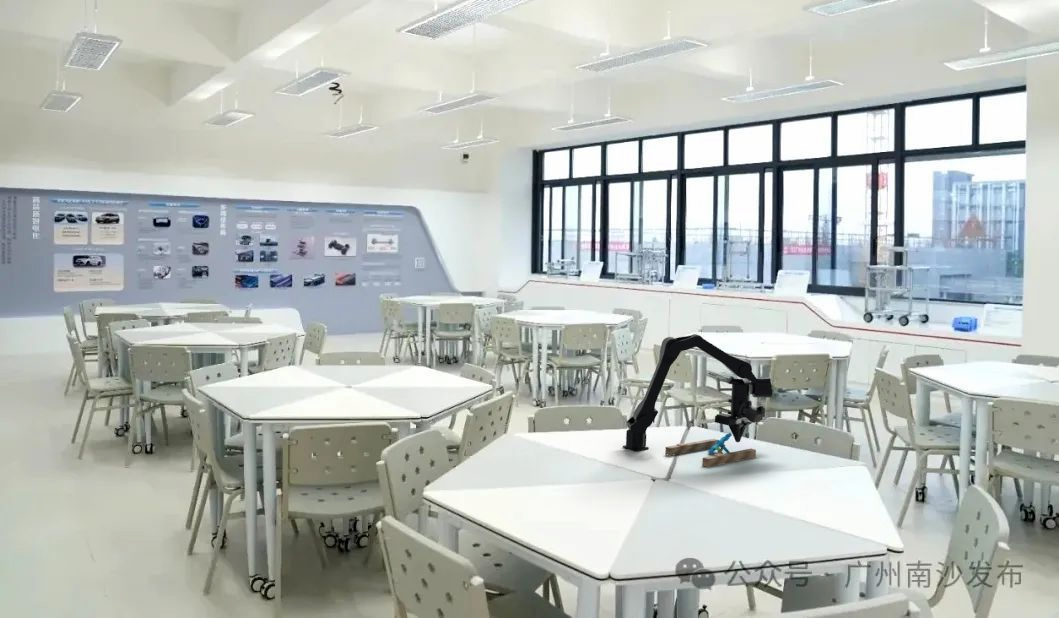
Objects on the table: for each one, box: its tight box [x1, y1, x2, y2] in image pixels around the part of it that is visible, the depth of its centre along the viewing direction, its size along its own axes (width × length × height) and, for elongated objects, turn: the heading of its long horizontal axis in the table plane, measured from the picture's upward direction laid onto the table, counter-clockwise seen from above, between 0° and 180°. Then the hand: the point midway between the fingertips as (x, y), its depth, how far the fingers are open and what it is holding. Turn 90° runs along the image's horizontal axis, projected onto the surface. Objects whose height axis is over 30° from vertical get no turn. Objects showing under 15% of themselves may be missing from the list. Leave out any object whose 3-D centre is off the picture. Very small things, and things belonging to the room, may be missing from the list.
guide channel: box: [665, 438, 757, 468], centre depth 266 cm, size 24×18×3 cm
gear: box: [707, 432, 733, 455], centre depth 268 cm, size 11×6×10 cm
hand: (737, 442), depth 274 cm, fingers closed
